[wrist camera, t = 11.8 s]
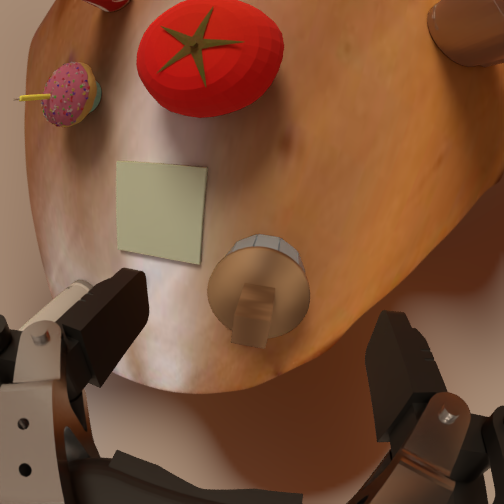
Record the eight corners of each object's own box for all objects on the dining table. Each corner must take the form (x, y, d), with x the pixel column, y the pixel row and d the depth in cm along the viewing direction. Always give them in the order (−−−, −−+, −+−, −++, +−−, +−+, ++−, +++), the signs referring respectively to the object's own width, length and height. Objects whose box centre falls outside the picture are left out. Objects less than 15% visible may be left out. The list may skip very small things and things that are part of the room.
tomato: (156, 118, 31) (106, 116, 21) (169, 22, 26) (127, -9, 16) (277, 125, 30) (271, 120, 20) (289, 22, 25) (287, -20, 15)
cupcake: (69, 132, 33) (5, 141, 22) (65, 78, 29) (4, 74, 18) (116, 116, 31) (51, 117, 20) (112, 57, 28) (50, 41, 17)
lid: (319, 256, 30) (326, 290, 23) (298, 340, 34) (297, 382, 27) (213, 238, 30) (192, 267, 24) (207, 323, 35) (190, 362, 28)
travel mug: (70, 273, 41) (-12, 342, 23) (101, 287, 41) (20, 368, 23) (71, 303, 44) (0, 373, 26) (101, 317, 44) (32, 398, 26)
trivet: (207, 167, 33) (206, 168, 32) (200, 262, 37) (199, 264, 37) (119, 160, 33) (116, 161, 33) (119, 247, 38) (117, 249, 38)
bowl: (310, 242, 34) (313, 259, 30) (295, 313, 38) (294, 336, 34) (227, 228, 35) (217, 243, 30) (220, 300, 39) (211, 321, 34)
